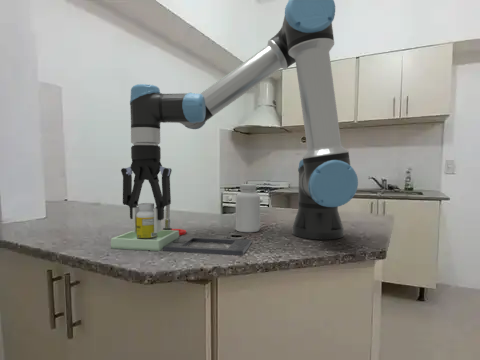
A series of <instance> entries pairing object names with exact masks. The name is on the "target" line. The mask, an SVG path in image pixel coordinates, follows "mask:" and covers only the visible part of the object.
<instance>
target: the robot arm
mask: <svg viewBox="0 0 480 360" xmlns="http://www.w3.org/2000/svg"><path fill="white" fill-rule="evenodd" d="M335 16H336V3H335V0H288V1H287V3H286V5H285V8H284V17H283V21H282V26H281V28H280V29H279V30H278V32H277V33H276V34H275V35H274V36H273V37H271V38H270V39H269V40H268V41H267V45H266V46H265V47H263V48H262V49H260V50H259V51H257V52H256V53H255V54H254V55H252V56H251V57H250V58H248V59H246V61H244V62H243V63H241V64H240V65H238V66H237V67H235V68H234V69H233V70H232V71H230V72H229V73H227V74H226V75H224V76H223V77H222V78H220V79H219V80H217V81H216V82H215V83H213V84H211V85H210V86H208V87H207V88H206V89H204V90H203V91H202V92H200V93H193V92H188V93H187V92H183V93H182V92H181V93H161V91H160V88H159V87H158V86H157V85H154V84H146V83H139V84H135V85H133V86H132V87H131V89H130V101H129V105H130V108H129V109H130V144H133V145H132V146H131V147H130V151H131V152H130V156H131V157H130V158H131V163H130V166H128V167H125V168H124V167H122V168H121V170H120V172H121V175H122V205H125V206H127V207H128V208H129V218H130V220H132V231H133V232H137V226H136V214H137V213H138V212H140V210H139V204H140V203H139V200H140V196H141V194H142V193H141V191H142V187H143V184H144V183H145V181H146V180H147V181H148V183H149V184H150V187H151V188H150V189H151V191H152V195H153V199H154V202H155V203H154V204H155V205H156V206H154V209H153V210H154V233H158V232H160V231H161V230H162V220H165V219H164V218H165V208H166V206H167V205H170V206H171V204H172V199H171V198H172V197H171V175H172V172H173V171H172V168H171V167H170V168H169V167H168V168H167V167H165V166H163V165H162V163H161V158H162V157H161V154H162V153H161V150H162V149H161V147H160V146H159V145H160V144H161V123H163V124H164V123H165V124H166V123H175V124H176V123H177V124H178V123H179V124H181V125H182V126H184V127H186V128H187V129H189V130H190V129H191V130H199V129H201V128H203V126H204V125H205V124H206V122H207V121H209V119H211V118H212V117H213V116H215V115H216V114H218V113H219V112H221V111H222V110H224V109H225V108H226V107H228V106H230V104H232V103H233V102H235V101H236V100H237V99H239V98H241V97H242V96H243V95H245V94H246V93H248V92H249V91H251V90H252V89H253V88H255V87H256V86H258V85H260V83H262V82H263V81H265V80H266V79H267V78H269V77H271V76H272V75H273V74H274V73H276V72H277V71H279V70H280V69H283V70H286V69H288V68H289V67H291V66H292V65H293V64H295V68H296V73H297V74H296V75H297V82H298V90H299V96H300V98H299V99H300V104H301V112H302V120H303V126H304V134H305V141H306V142H305V143H306V150H307V151H306V152H305V154H304V155H303V156H302V158H301V159H300V161H299V162H298V168H297V172H298V208H297V212H296V216H295V217H294V218H295V219H294V221H293V224H292V235H294V236H296V237H298V238H303V239H309V240H310V239H311V240H321V241H322V240H325V241H326V240H337V239H342V238H343V237H344V227H343V223H342V220H341V217H340V213H339V207H342V206H343V205H346V204H347V203H348V202H350V201H351V200H352V199H353V198H354V196H355V195H356V193H357V191H358V186H359V179H358V174H357V172H356V170H355V169H354V168H353V166H352V165H351V160H350V153H349V150H348V149H347V148H345V147H344V146H343V145H342V140H341V139H342V138H341V131H340V124H339V123H340V122H339V117H338V111H337V110H338V109H337V102H336V93H335V87H334V79H333V72H332V71H333V70H332V65H331V63H332V62H331V56H330V52H331V50H332V48H333V47H334V45H335V38H334V29H333V21H334V20H335ZM159 173H160V174H161V186H160V184H159V183H160V180H159V177H158V175H159ZM133 174H134V179H133V177H132V175H133Z"/></svg>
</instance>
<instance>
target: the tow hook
mask: <svg viewBox="0 0 480 360" xmlns="http://www.w3.org/2000/svg"><path fill="white" fill-rule="evenodd" d="M170 209H171V204H170V205H167V206H165V219H164V227H163V229H162V230H177V231H179V236H184V235H186V234H187V230H186V229H183V228H172V227H171V218H170V214H171V213H170Z"/></svg>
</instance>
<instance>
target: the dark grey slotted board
mask: <svg viewBox="0 0 480 360" xmlns="http://www.w3.org/2000/svg"><path fill="white" fill-rule="evenodd" d="M193 242H194V243H209V242H213V244H230V245H229V247H227V248H226V247H225V248H224V247H223V248H222V247H203V246H189V245H191V244H192V243H193ZM190 243H191V244H190ZM187 245H188V246H187ZM250 245H252V239H246V238H243V239H242V238H225V237H224V238H223V237H207V236H206V237H205V236H204V237H201V236H184V235H180V236H179V238H178V239H176V240H174V241H173V242H171V243H169V244H167V245H166V246H164V247H163V249H162V250H163V252H175V251H187V252H186V253H193V252H202V253H201V254H210V253H215V254H214V255H230V256H231V255H232V256H243V255H245V253H246V251H247V250H248V249H249V247H250Z"/></svg>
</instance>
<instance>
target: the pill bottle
mask: <svg viewBox="0 0 480 360" xmlns="http://www.w3.org/2000/svg"><path fill="white" fill-rule="evenodd" d="M239 191H240V192H238V193H237V194H236V196H235V230H236V231H237V232H240V233H255V232H256V233H257V232H259V231H260V229H261V195H260V194H259V193H258V192H257V184H254V183H241V184H239Z"/></svg>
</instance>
